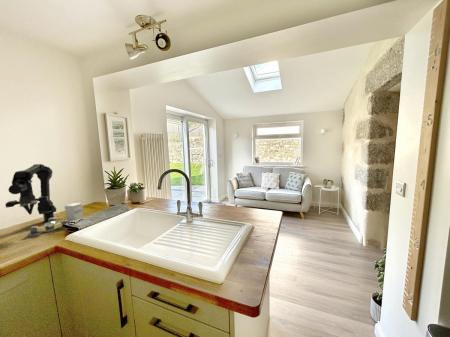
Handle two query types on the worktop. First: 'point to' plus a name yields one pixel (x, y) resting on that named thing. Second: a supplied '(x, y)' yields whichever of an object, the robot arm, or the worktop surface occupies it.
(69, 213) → the supplement box
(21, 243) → the worktop surface
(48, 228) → the tribrach
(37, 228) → the knob
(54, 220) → the knob
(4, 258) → the worktop surface
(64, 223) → the knob
